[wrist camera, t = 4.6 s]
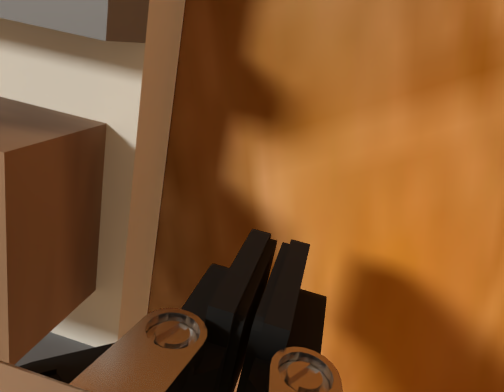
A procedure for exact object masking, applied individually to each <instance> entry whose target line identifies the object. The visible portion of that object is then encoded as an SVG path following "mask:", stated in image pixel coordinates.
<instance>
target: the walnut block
mask: <svg viewBox="0 0 504 392" xmlns="http://www.w3.org/2000/svg"><path fill="white" fill-rule="evenodd" d="M106 126H107V123H103V122H99V121H95V120H91V119H87V118H83V117H79V116H75V115H71V114H67V113H63V112H59V111H55V110H51V109H47V108H43V107H40V106H36V105H32V104H28V103H24V102H20V101H16V100H12V99H8V98H4V97H0V360H1V361H4V362H7V363H10V364H12V365H15V364H16V363H17V362H18V361H19V360H20V359H21V358H22V357H23V356H24V355H26V354H27V353H28V352H29V351H30V350H31V349H32V348H33V347H34V346H35V345H36V344H38V343H39V342H40V341H41V340H42V339H43V338H44V337H45V336H46V335H47V334H48V333H50V332H51V331H52V330H53V329H54V328H55V327H56V326H57V325H58V324H59V323H60V322H62V321H63V320H64V319H65V318H66V317H67V316H68V315H69V314H70V313H71V312H72V311H73V310H75V309H76V308H77V307H78V306H79V305H80V304H81V303H82V302H83V301H84V300H85V299H87V298H88V297H89V296H90V295H91V294H92V293H93V292H94V291H95V290H96V277H97V262H98V247H99V232H100V217H101V201H102V186H103V171H104V156H105V141H106Z"/></svg>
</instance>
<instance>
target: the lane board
mask: <svg viewBox="0 0 504 392" xmlns="http://www.w3.org/2000/svg"><path fill="white" fill-rule="evenodd" d="M184 8H185V0H0V97H4V98H8V99H12V100H16V101H20V102H24V103H28V104H32V105H36V106H40V107H43V108H47V109H51V110H55V111H59V112H63V113H67V114H71V115H75V116H79V117H83V118H87V119H91V120H95V121H99V122H103V123H107V126H106V141H105V156H104V171H103V186H102V201H101V217H100V232H99V247H98V262H97V277H96V290H95V291H94V292H93V293H92V294H91V295H90V296H89V297H88V298H87V299H85V300H84V301H83V302H82V303H81V304H80V305H79V306H78V307H77V308H76V309H75V310H73V311H72V312H71V313H70V314H69V315H68V316H67V317H66V318H65V319H64V320H63V321H62V322H60V323H59V324H58V325H57V326H56V327H55V328H54V329H53V330H52V331H51V332H50V333H48V334H47V335H46V336H45V337H44V338H43V339H42V340H41V341H40V342H39V343H38V344H36V345H35V346H34V347H33V348H32V349H31V350H30V351H29V352H28V353H27V354H26V355H24V356H23V357H22V358H21V359H20V360H19V361H18V362H17V363H16V364H15V366H18V367H19V366H21V365H24V364H27V363H30V362H33V361H38V360H42V359H46V358H51V357H55V356H59V355H64V354H68V353H72V352H77V351H81V350H85V349H90V348H94V347H98V346H103V345H107V344H111V343H115V342H117V341H118V340H119V339H120V338H121V337H122V336H123V335H124V334H126V333H127V332H128V331H129V330H130V329H131V328H132V327H133V326H134V325H136V324H137V323H138V322H139V321H140V320H141V319H142V318H143V317H145V316H146V315H147V312H148V304H149V296H150V287H151V279H152V271H153V263H154V255H155V246H156V238H157V230H158V222H159V214H160V205H161V197H162V189H163V181H164V172H165V164H166V156H167V148H168V140H169V131H170V123H171V115H172V107H173V99H174V90H175V82H176V74H177V66H178V57H179V49H180V41H181V33H182V25H183V16H184Z"/></svg>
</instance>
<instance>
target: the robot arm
mask: <svg viewBox="0 0 504 392" xmlns="http://www.w3.org/2000/svg"><path fill="white" fill-rule="evenodd" d="M270 238H271V234H270V233H267V232H263V231H259V230H256V229H252V230H251V232H250V234H249V235H248V237H247V239H246V241H245V242H244V244H243V246H242V248H241V249H240V251H239V253H238V255H237V256H236V258H235V260H234V261H233V263H232V265H231V267H230V268H227V267H224V266H220V265H217V264H212V265H211V266H210V267H209V269H208V270H207V272H206V273H205V275H204V276H203V277H202V279H201V280H200V282H199V283H198V285H197V286H196V288H195V289H194V291H193V292H192V294H191V295H190V297H189V298H188V300H187V301H186V303H185V304H184V306H183V307H182V309H176V308H166V309H159V310H156V311H153V312H151V313H149V314H148V315H146V316H145V317H143V318H142V319H141V320H140V321H139V322H138V323H137V324H136V325H134V326H133V327H132V328H131V329H130V330H129V331H128V332H127V333H126V334H124V335H123V336H122V337H121V338H120V339H119V340H118V341H117V342H115V343H111V344H107V345H103V346H98V347H94V348H90V349H85V350H81V351H77V352H72V353H68V354H64V355H59V356H55V357H51V358H46V359H42V360H38V361H33V362H30V363H27V364H24V365H21V366H19V367H18V366H15V365H12V364H10V363H7V362H4V361H1V360H0V392H234V389H235V386H236V383H237V381H238V378H239V375H240V372H241V375H240V380H239V384H238V388H237V392H343V389H342V383H341V378H340V375H339V372H338V370H337V369H336V368H335V366H334V365H333V364H332V363H331V362H330V361H329V360H328V359H327V358H326V357H324V356H323V355H321V345H322V336H323V327H324V318H325V308H326V296H323V295H319V294H316V293H312V292H309V291H306V290H302V289H300V287H301V282H302V278H303V274H304V269H305V265H306V260H307V256H308V251H309V247H310V244H307V243H303V242H299V241H296V240H292V239H291V242H290V244H287V243H284V242H283V243H282V245H281V248H280V251H279V253H278V256H277V259H276V261H275V264H274V267H273V269H272V272H271V275H270V277H269V273H270V269H271V265H272V261H273V256H274V252H275V248H276V244H277V240H273V239H270ZM268 277H269V280H268ZM267 282H268V283H267ZM242 366H243V367H242ZM241 369H242V371H241Z"/></svg>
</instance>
